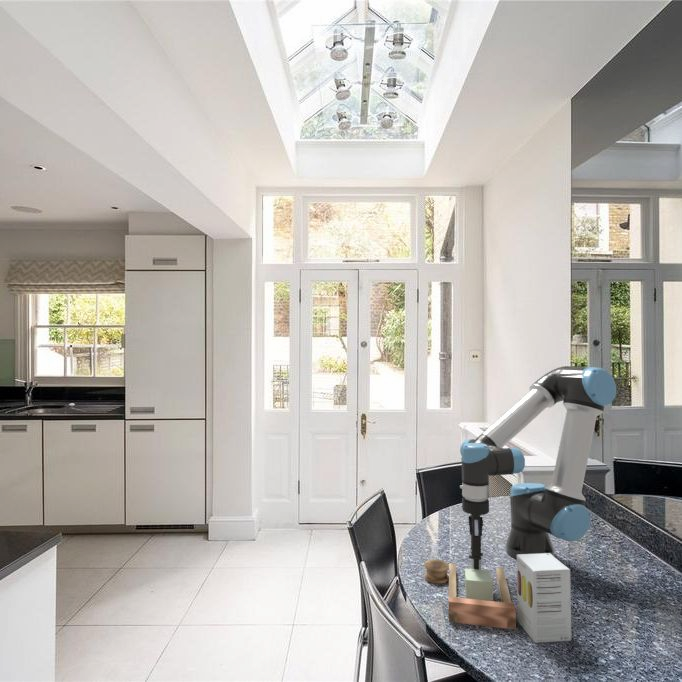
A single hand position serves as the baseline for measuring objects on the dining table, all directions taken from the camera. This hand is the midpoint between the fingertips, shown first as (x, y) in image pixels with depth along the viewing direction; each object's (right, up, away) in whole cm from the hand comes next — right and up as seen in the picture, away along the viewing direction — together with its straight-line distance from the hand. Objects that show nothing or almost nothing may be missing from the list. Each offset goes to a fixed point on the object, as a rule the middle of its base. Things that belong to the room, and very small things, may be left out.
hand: (476, 579), depth 136 cm
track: (-1, -2, -5) cm, 6 cm away
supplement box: (+10, -2, -21) cm, 24 cm away
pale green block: (-1, -2, -5) cm, 6 cm away
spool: (-10, -3, +6) cm, 12 cm away
